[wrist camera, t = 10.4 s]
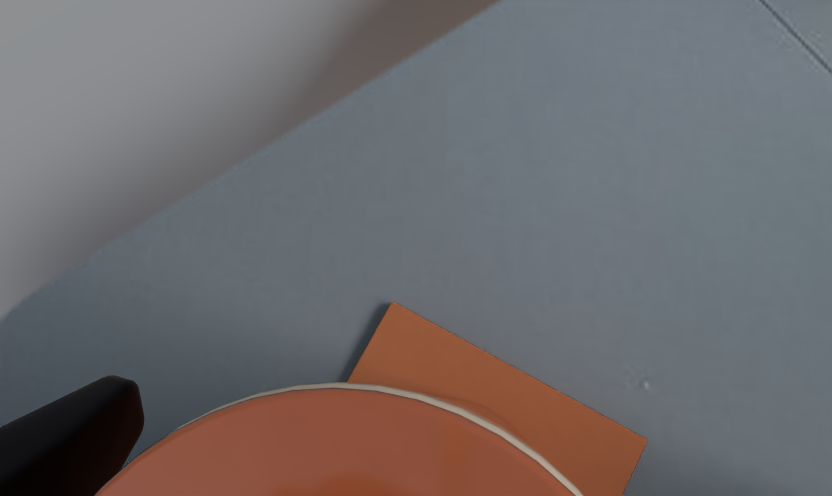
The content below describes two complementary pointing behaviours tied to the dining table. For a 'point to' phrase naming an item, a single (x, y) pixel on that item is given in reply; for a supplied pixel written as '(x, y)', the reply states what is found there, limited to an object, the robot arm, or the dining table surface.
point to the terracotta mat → (502, 399)
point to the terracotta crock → (342, 449)
